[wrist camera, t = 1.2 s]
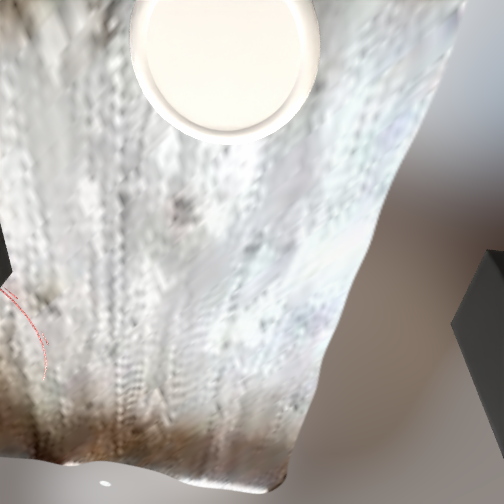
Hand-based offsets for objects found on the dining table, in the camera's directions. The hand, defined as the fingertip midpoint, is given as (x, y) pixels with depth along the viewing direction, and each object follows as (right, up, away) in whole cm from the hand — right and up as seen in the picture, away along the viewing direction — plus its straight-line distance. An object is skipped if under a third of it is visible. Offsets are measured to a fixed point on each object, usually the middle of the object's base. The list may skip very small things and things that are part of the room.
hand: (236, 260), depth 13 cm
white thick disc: (-1, +12, +14) cm, 19 cm away
